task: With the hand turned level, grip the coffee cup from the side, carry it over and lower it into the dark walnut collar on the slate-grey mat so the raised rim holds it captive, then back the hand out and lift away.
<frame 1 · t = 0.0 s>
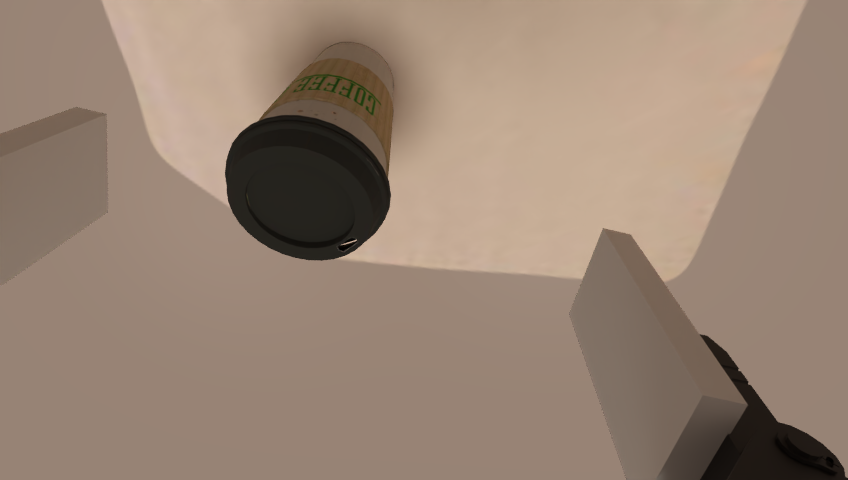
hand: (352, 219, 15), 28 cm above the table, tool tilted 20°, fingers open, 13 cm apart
coffee cup: (353, 80, 43), on the table
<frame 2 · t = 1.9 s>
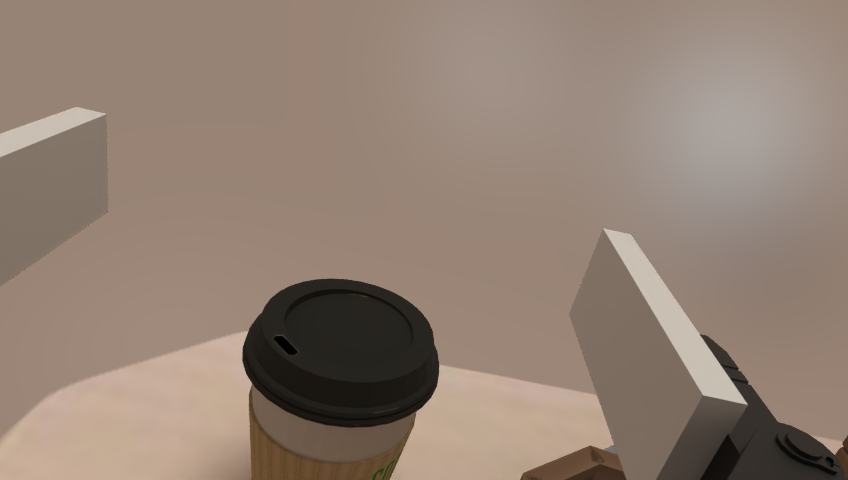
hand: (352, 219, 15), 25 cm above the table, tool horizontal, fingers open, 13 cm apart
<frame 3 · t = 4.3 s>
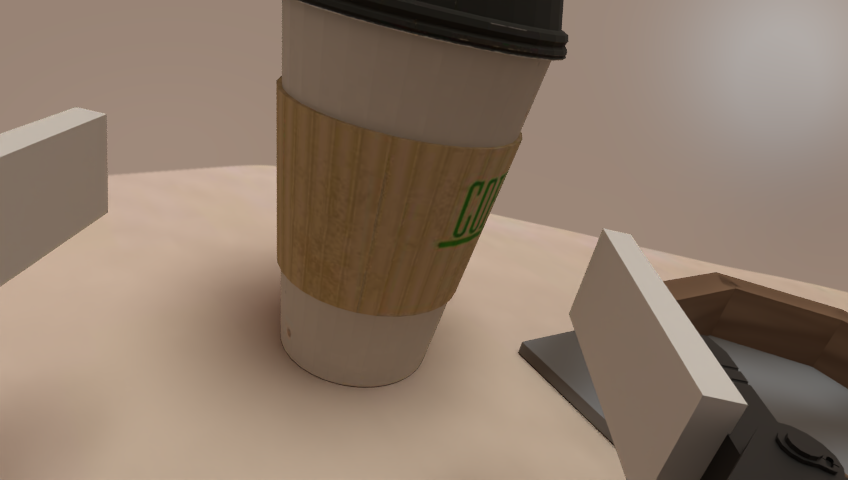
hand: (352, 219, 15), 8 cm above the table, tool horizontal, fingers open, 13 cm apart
cup collar: (801, 444, 25), on the table
coffee cup: (353, 341, 25), on the table
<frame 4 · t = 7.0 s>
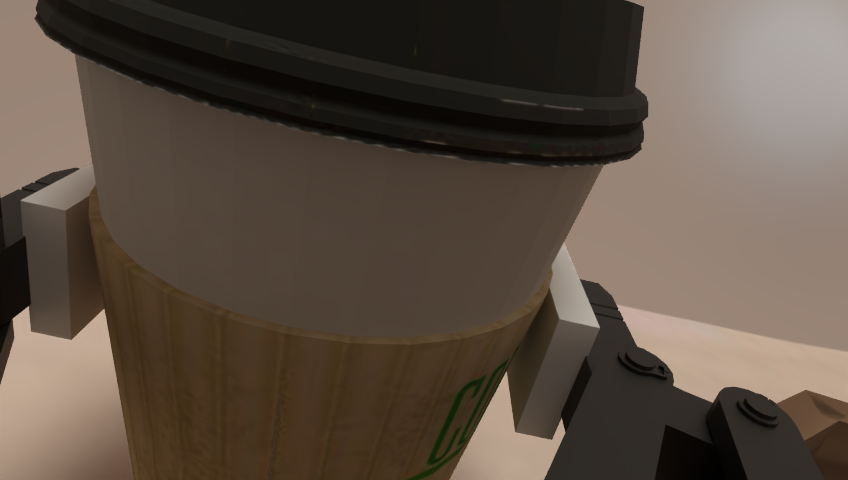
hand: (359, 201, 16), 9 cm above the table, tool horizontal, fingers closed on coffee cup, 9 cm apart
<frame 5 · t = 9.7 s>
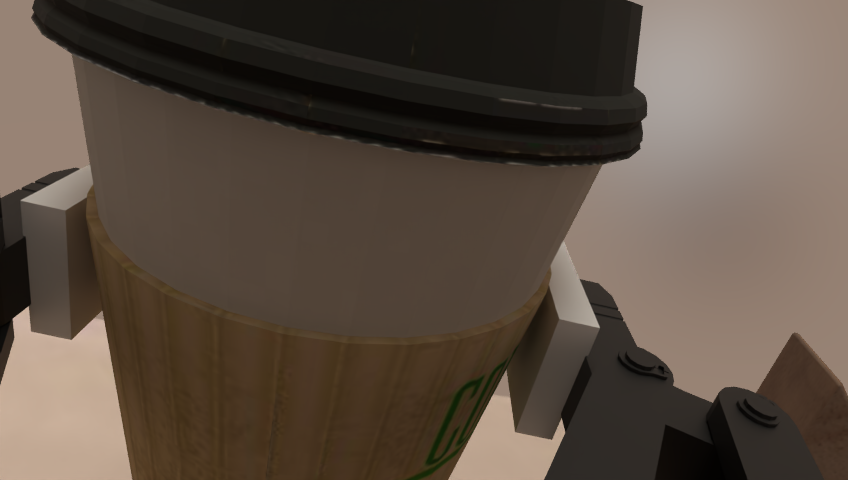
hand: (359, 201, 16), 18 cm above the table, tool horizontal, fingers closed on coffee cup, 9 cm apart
when the fingers open (11 cm above the table, at t = 12.5 s): coffee cup drops 1 cm, resting on cup collar.
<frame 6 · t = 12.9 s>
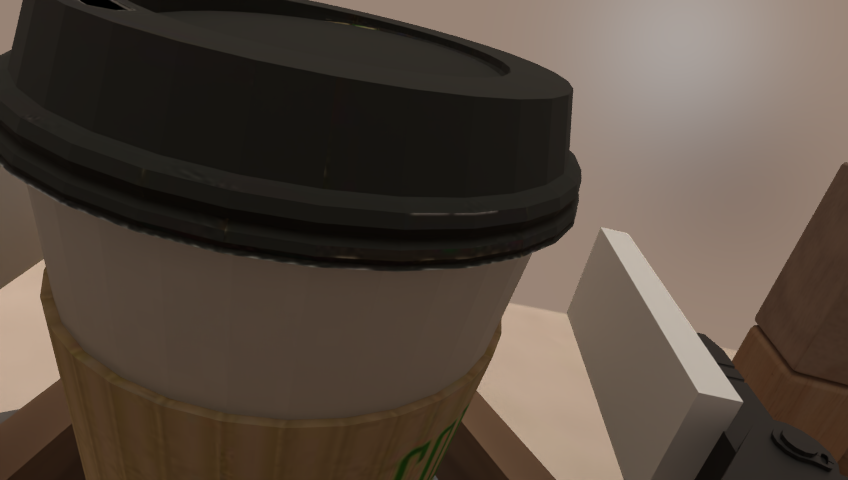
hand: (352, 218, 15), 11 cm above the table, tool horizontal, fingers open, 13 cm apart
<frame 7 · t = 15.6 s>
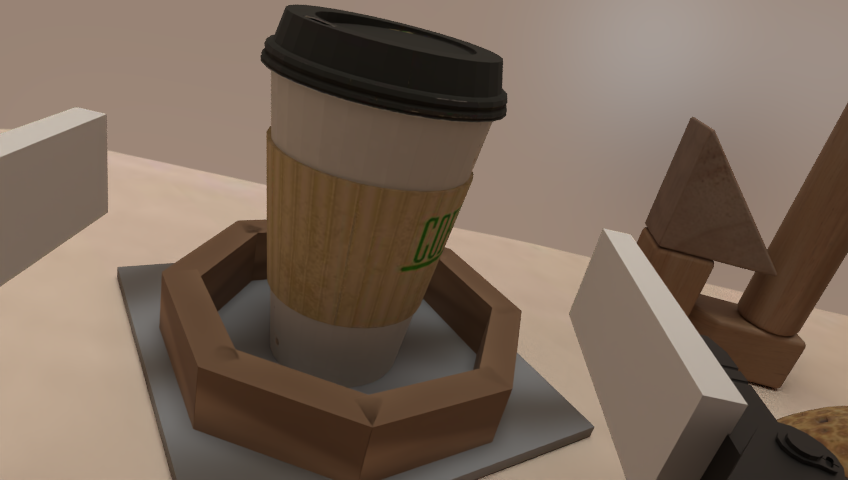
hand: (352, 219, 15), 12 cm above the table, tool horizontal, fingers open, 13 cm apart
cup collar: (343, 352, 29), on the table
coffee cup: (333, 348, 28), resting on cup collar
wooden block: (685, 356, 37), on the table
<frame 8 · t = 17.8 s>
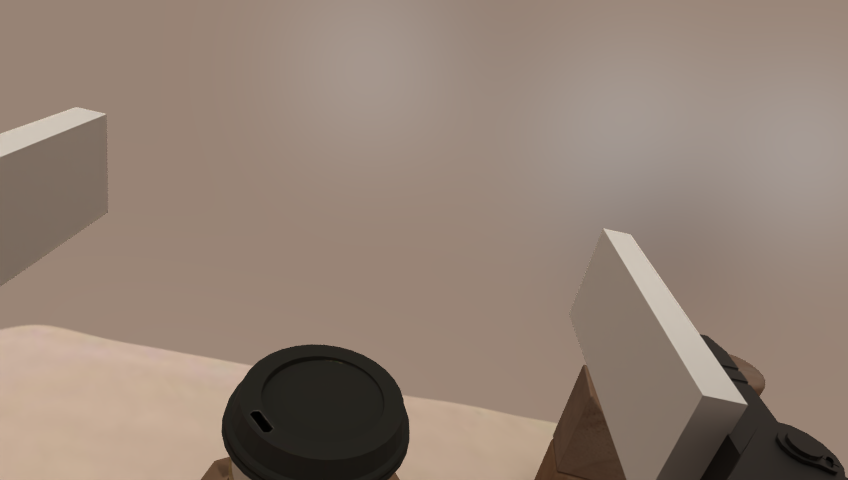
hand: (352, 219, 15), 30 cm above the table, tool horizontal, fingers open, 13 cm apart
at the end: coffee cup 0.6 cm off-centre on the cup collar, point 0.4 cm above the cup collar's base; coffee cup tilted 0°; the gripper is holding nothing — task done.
